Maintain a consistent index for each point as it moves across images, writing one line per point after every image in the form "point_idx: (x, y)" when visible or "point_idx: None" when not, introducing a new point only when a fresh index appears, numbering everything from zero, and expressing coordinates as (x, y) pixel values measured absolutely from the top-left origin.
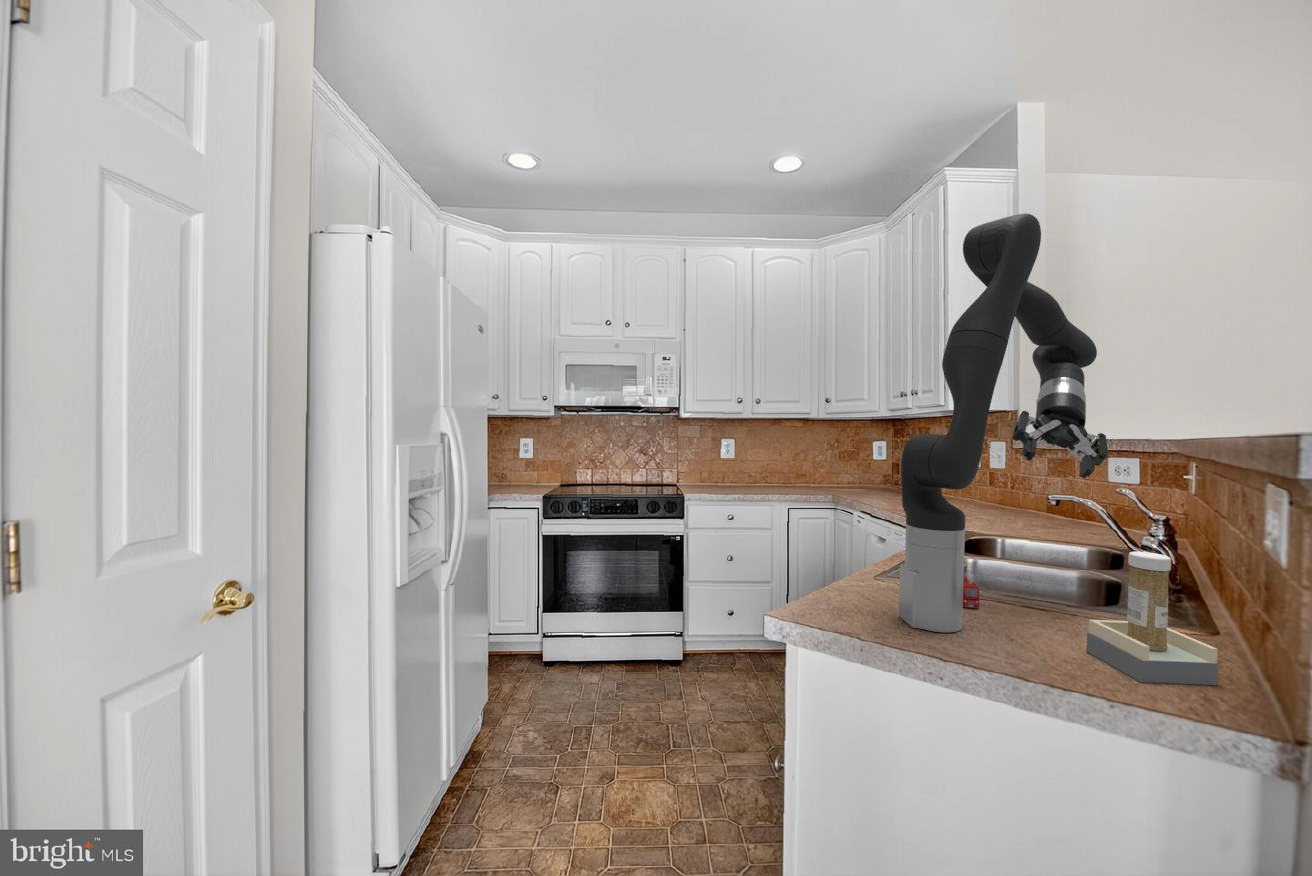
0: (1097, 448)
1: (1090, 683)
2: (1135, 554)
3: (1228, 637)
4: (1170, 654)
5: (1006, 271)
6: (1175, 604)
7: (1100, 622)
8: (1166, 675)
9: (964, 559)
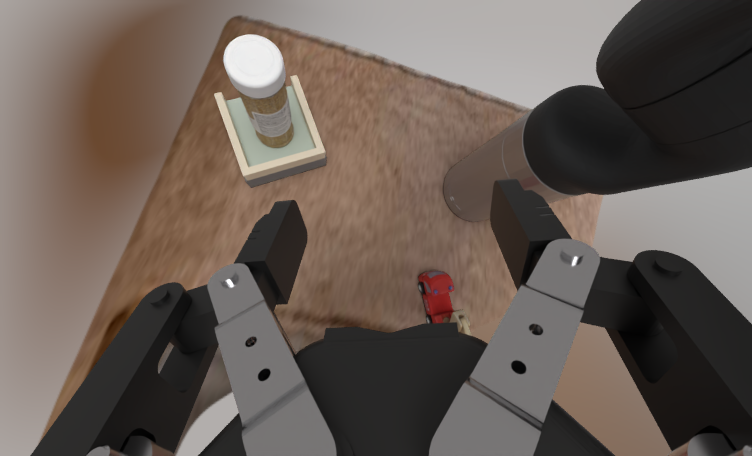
0: (158, 374)
1: (347, 79)
2: (278, 53)
3: (107, 307)
4: None
5: None
6: None
7: (313, 149)
8: None
9: (461, 324)
